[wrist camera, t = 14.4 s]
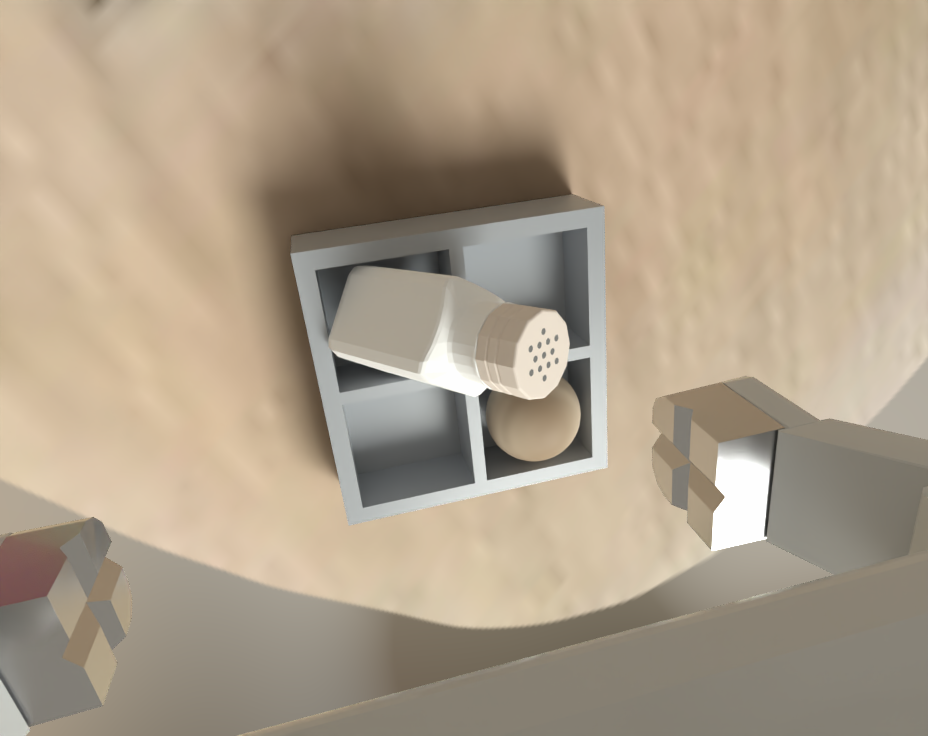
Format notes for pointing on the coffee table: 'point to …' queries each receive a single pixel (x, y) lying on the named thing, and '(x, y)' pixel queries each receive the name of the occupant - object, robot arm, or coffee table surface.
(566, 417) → the brown ball
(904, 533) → the robot arm
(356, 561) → the coffee table surface
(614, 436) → the coffee table surface
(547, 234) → the grey compartment tray
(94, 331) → the coffee table surface
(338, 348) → the pepper shaker
